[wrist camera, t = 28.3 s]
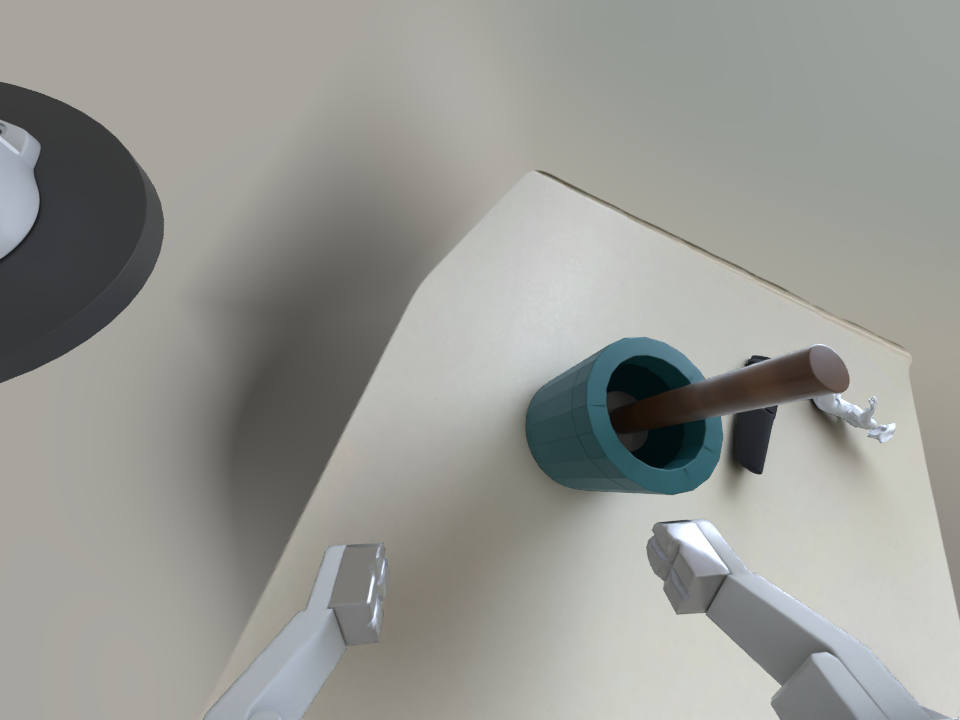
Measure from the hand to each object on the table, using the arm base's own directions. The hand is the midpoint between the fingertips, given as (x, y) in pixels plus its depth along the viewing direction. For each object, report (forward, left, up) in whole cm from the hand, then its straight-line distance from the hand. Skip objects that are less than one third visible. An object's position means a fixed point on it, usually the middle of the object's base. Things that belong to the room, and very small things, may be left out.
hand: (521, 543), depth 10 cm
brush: (+10, +12, -19) cm, 24 cm away
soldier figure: (+38, +32, -20) cm, 54 cm away
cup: (+9, +12, -20) cm, 25 cm away
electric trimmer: (+28, +25, -20) cm, 43 cm away
